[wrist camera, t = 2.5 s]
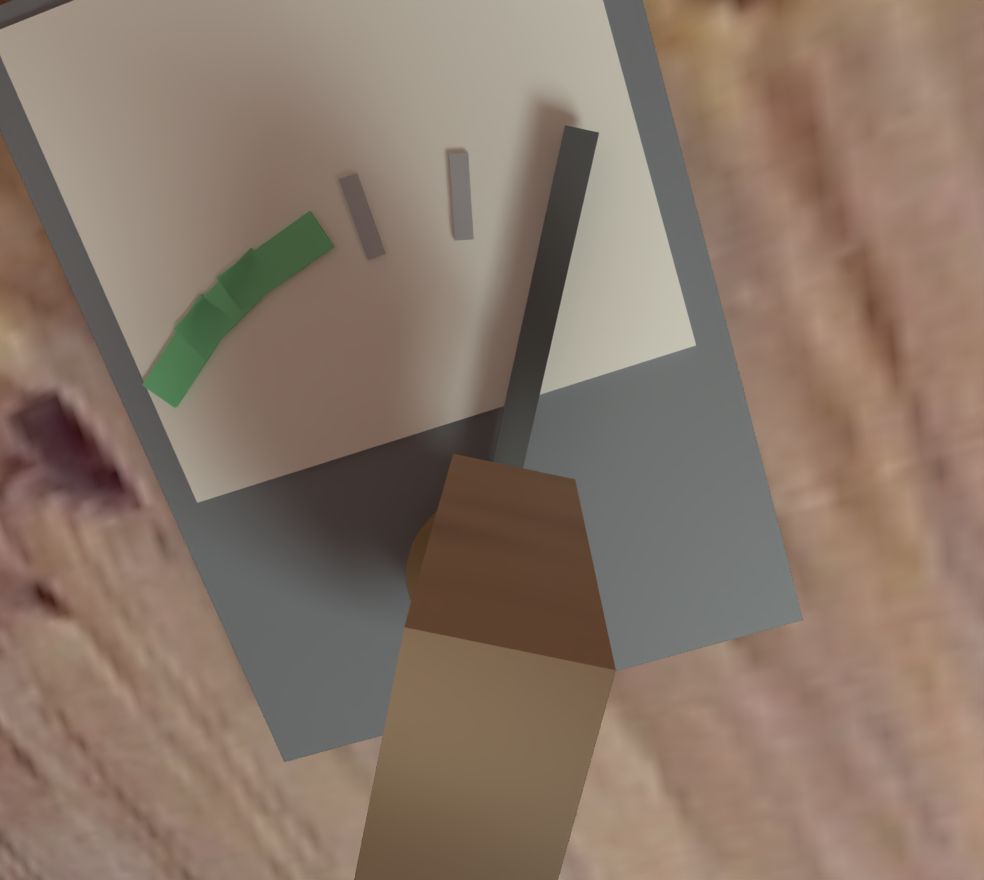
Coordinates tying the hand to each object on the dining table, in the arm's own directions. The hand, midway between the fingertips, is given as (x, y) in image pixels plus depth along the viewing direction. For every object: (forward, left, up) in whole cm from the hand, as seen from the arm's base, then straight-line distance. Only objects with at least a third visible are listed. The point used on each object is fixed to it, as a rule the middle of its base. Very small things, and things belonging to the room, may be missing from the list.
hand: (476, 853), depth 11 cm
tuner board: (0, +5, -12) cm, 13 cm away
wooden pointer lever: (+1, +3, -10) cm, 10 cm away
